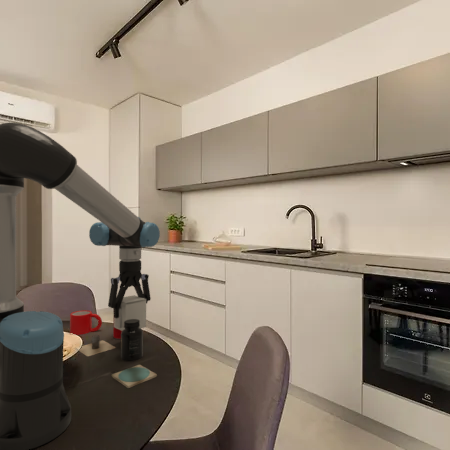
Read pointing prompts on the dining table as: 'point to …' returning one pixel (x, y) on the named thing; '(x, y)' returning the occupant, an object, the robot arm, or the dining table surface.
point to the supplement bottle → (131, 341)
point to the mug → (83, 322)
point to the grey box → (133, 310)
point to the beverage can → (116, 332)
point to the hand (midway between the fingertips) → (130, 323)
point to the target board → (134, 376)
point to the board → (95, 351)
